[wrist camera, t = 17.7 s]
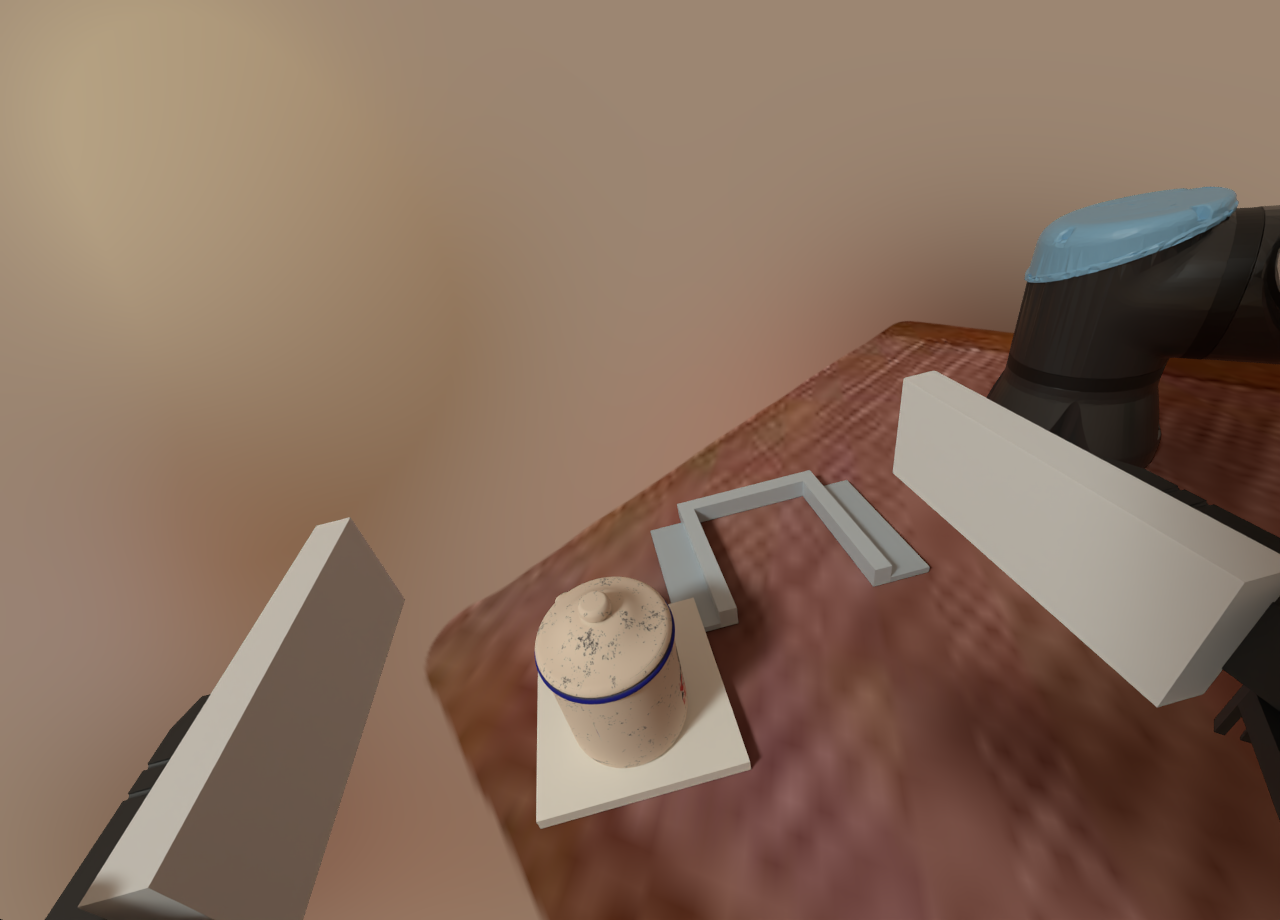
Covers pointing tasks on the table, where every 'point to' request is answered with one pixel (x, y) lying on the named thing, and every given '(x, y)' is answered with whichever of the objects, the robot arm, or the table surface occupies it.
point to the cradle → (836, 504)
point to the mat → (692, 759)
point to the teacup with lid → (614, 669)
